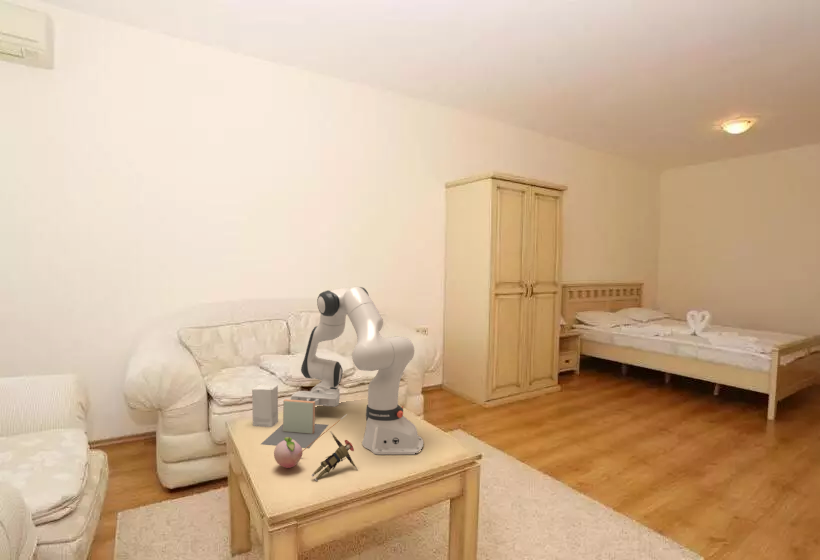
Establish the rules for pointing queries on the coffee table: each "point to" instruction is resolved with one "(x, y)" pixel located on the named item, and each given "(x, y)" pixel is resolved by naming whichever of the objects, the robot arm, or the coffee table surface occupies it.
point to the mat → (295, 436)
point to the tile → (298, 416)
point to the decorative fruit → (288, 453)
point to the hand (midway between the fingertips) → (309, 404)
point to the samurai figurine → (334, 456)
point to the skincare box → (265, 405)
